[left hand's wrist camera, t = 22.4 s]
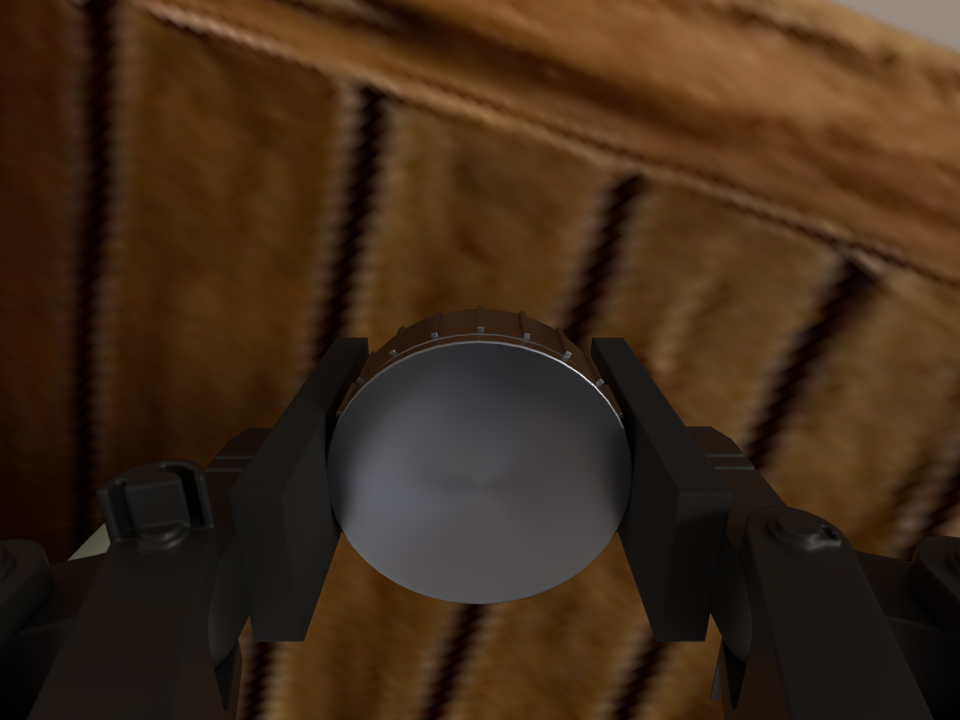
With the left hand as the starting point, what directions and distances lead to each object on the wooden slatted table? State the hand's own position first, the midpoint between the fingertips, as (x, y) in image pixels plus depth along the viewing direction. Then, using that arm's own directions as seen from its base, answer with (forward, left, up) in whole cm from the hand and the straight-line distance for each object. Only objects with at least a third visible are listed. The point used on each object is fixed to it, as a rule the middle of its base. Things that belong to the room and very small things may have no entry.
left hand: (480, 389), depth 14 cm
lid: (0, 0, +4) cm, 4 cm away
